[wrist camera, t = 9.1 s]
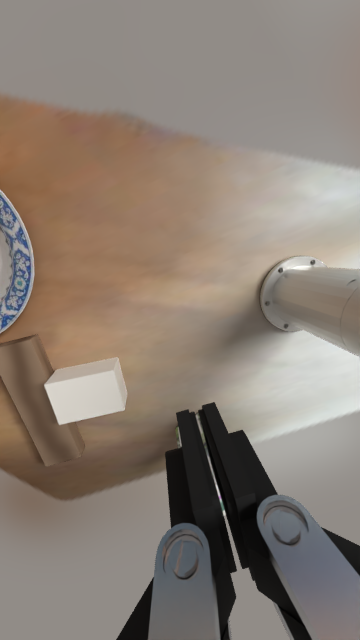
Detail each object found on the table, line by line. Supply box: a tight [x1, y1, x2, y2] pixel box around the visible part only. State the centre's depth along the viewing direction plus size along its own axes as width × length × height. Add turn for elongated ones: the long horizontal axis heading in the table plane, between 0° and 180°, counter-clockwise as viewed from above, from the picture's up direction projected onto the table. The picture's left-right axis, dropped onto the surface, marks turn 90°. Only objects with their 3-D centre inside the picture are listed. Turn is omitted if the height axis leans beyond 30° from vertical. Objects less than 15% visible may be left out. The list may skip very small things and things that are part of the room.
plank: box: [0, 334, 85, 467], centre depth 38 cm, size 6×22×2 cm, turn 13°
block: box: [44, 357, 127, 425], centre depth 38 cm, size 10×7×5 cm
